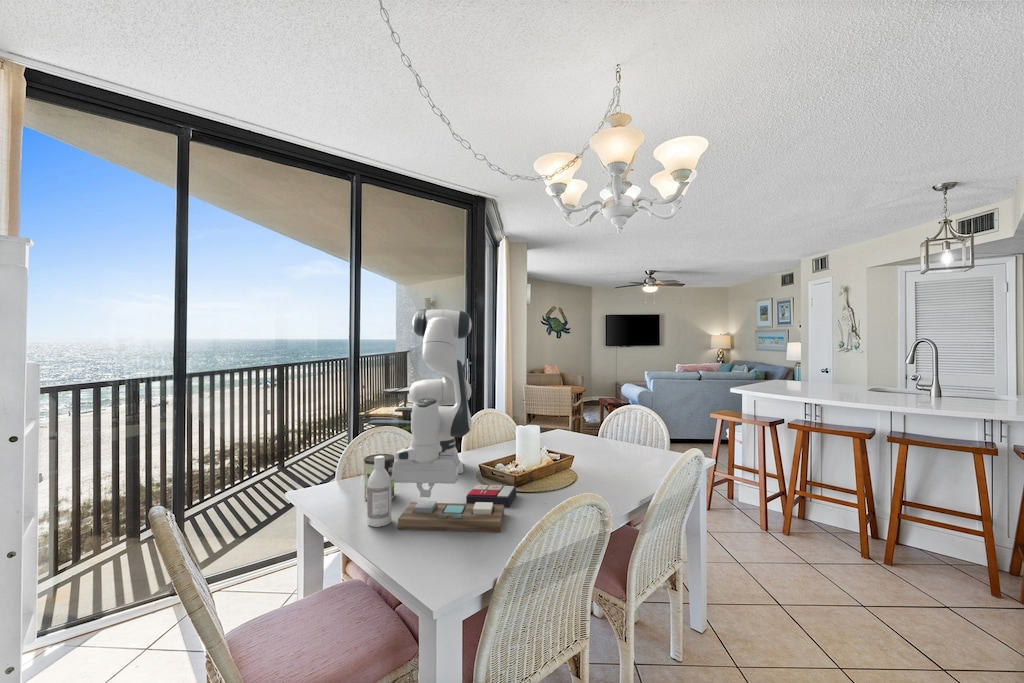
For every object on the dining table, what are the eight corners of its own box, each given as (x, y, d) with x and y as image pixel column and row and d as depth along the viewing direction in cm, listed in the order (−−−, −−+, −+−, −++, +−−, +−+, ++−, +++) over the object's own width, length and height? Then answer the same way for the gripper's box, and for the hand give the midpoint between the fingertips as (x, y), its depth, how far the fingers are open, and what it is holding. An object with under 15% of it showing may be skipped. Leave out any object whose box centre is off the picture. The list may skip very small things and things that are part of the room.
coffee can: (396, 491, 158) (396, 453, 158) (391, 502, 148) (391, 460, 148) (368, 492, 157) (368, 453, 157) (360, 503, 147) (360, 461, 147)
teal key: (447, 511, 136) (447, 505, 136) (464, 512, 136) (464, 505, 136) (443, 518, 131) (443, 512, 131) (461, 519, 130) (461, 512, 130)
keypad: (411, 511, 139) (411, 501, 139) (503, 513, 137) (503, 503, 137) (397, 529, 126) (397, 517, 126) (500, 531, 124) (500, 520, 124)
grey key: (419, 507, 137) (419, 500, 137) (436, 507, 137) (436, 501, 137) (414, 514, 131) (414, 507, 131) (431, 514, 131) (431, 507, 131)
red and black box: (475, 483, 157) (516, 484, 153) (476, 495, 157) (516, 496, 153) (465, 494, 146) (508, 495, 143) (466, 506, 146) (509, 508, 143)
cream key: (475, 508, 136) (475, 502, 136) (493, 508, 135) (493, 502, 135) (472, 515, 130) (472, 508, 130) (491, 516, 130) (491, 509, 130)
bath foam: (374, 517, 135) (374, 453, 135) (395, 518, 134) (395, 454, 134) (363, 527, 128) (363, 459, 128) (385, 528, 127) (385, 460, 127)
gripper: (460, 449, 136) (460, 493, 136) (396, 448, 138) (397, 492, 138) (456, 455, 130) (456, 501, 130) (390, 454, 131) (390, 499, 131)
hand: (425, 496), depth 134 cm, fingers closed
